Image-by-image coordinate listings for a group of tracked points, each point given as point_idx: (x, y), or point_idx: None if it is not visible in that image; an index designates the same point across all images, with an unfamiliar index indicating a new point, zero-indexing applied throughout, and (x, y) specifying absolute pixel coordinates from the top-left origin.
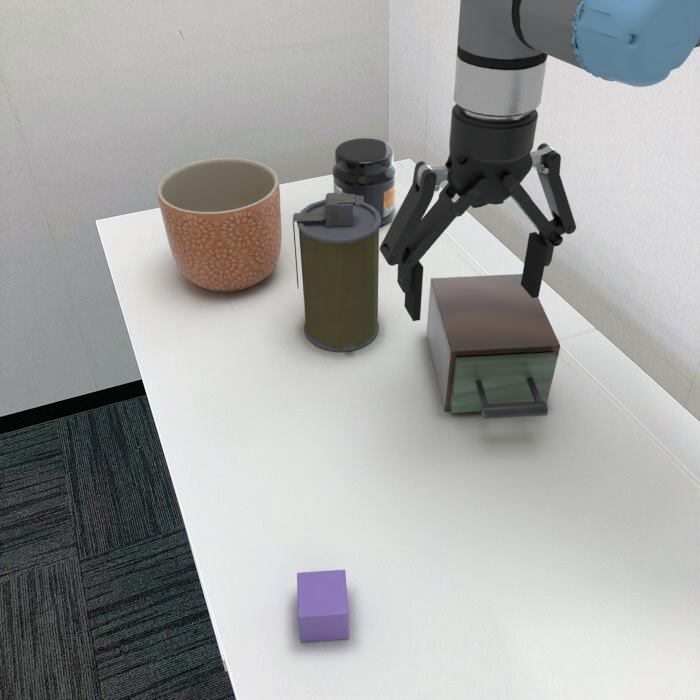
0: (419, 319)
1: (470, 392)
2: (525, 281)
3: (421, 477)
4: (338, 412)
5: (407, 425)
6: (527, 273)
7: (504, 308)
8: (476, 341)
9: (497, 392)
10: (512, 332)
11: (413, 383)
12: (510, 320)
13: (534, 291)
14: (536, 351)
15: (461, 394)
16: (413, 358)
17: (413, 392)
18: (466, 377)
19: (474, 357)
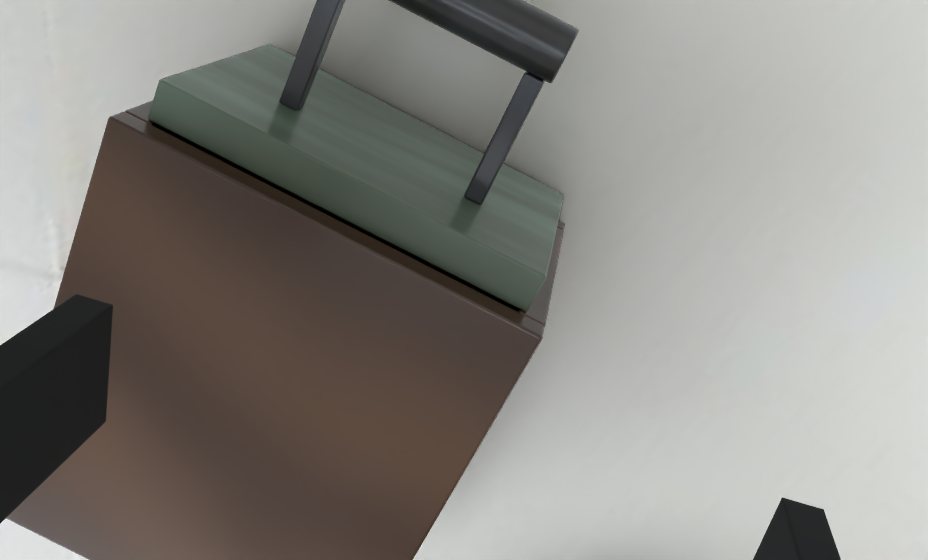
0: (785, 501)
1: (502, 195)
2: (80, 411)
3: (831, 23)
4: (862, 402)
5: (710, 239)
6: (44, 438)
7: (187, 414)
8: (410, 326)
9: (412, 146)
10: (243, 288)
11: (570, 373)
12: (208, 347)
13: (81, 321)
14: (212, 157)
15: (533, 208)
16: (501, 455)
17: (596, 343)
18: (514, 230)
19: (458, 270)
